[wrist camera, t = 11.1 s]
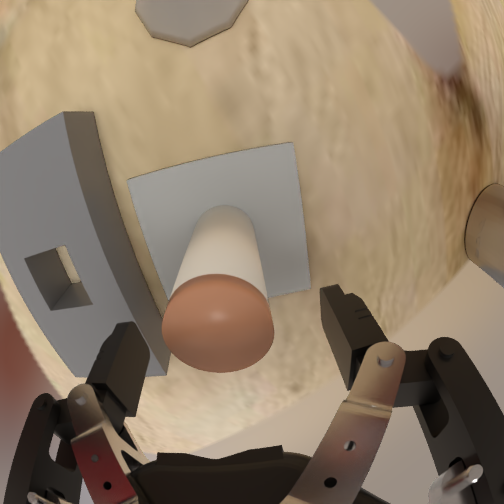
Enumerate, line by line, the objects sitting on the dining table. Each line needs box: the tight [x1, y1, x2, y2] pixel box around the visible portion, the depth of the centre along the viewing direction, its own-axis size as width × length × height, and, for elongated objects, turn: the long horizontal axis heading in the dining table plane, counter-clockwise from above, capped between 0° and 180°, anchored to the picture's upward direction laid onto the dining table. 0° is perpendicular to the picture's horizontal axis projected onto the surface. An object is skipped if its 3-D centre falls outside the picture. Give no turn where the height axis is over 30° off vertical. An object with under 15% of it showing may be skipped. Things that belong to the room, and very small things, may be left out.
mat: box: [127, 142, 311, 301], centre depth 19 cm, size 11×11×1 cm
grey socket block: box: [0, 112, 171, 378], centre depth 17 cm, size 10×20×4 cm, turn 10°
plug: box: [162, 205, 274, 373], centre depth 14 cm, size 4×4×10 cm
